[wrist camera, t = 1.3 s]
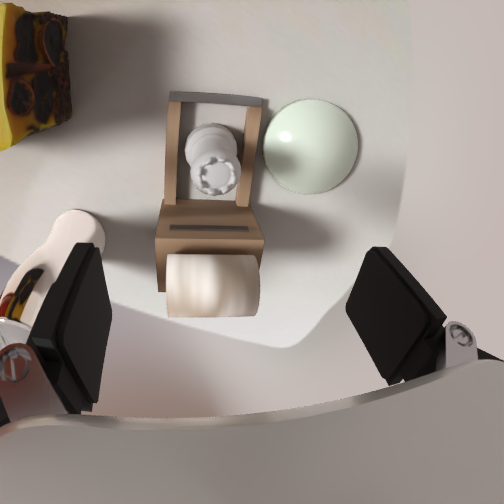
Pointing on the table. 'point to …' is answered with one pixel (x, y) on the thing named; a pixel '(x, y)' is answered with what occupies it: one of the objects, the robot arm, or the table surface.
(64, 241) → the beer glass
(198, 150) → the rook chess piece
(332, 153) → the pale green round disc
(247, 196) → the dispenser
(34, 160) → the table surface
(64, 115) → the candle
